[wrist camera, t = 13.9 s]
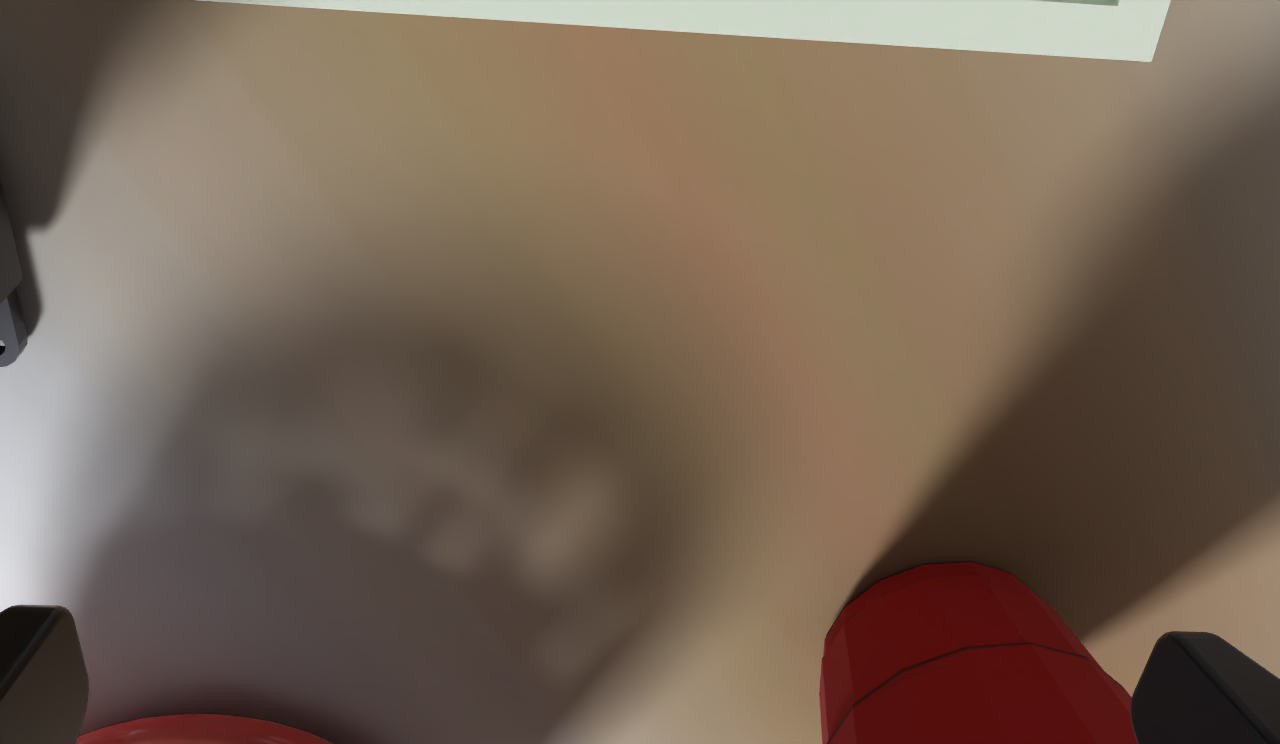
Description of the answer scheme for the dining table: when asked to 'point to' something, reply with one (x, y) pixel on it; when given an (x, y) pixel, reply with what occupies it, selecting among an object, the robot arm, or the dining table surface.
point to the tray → (837, 20)
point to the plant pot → (199, 731)
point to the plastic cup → (963, 667)
